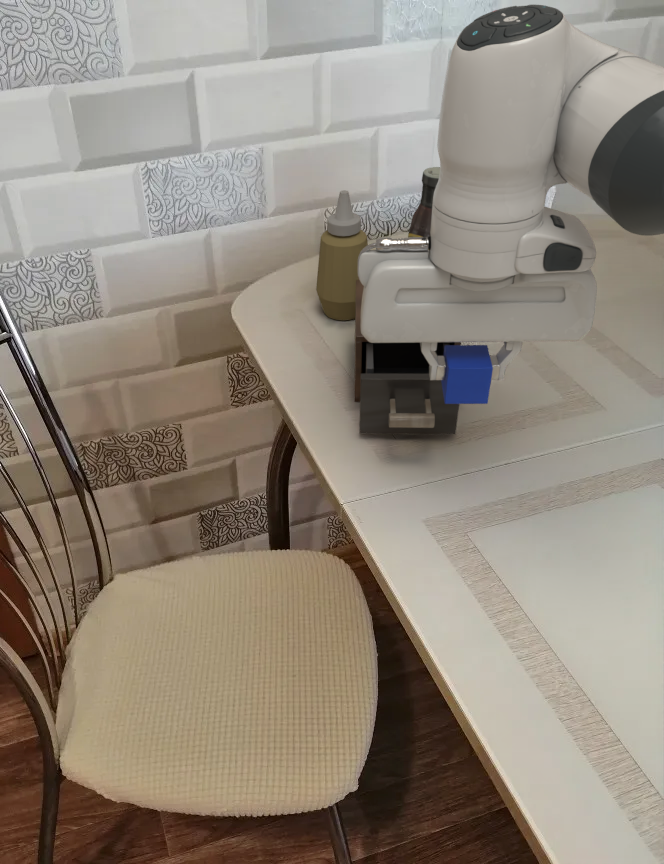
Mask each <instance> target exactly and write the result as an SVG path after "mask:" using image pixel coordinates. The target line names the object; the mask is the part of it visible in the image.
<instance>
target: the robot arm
mask: <svg viewBox="0 0 664 864" xmlns="http://www.w3.org/2000/svg"><path fill="white" fill-rule="evenodd" d="M436 144H437V145H436V146H437V147H436V148H437V153H438V158H439V167H440V176H439V180H438V183H437V185H436V188H435V191H434V195H433V204H432V217H431V230H430V236H429V237H408V236H407V237H404V238H403V237H401V238H393V237H380V238H377V239H376V240H375V242H372V243H368V245H367V246H366V247H365V248H364V249H363V250H362V251H361V252H360V254H359V257H358V279H359V281H360V283H361V284H362V285H363V286H364V289H363V295H362V303H361V321H360V328H361V334H362V335H363V336H364V337H365V338H366V339H367V341H369V342H370V343H417V342H420V345H421V352H422V353H423V355H424V356H425V358H426V360H427V361H428V363H429V376H430V380H445V379H446V370H447V364H446V358H445V356H437V354H436V353H435V351H436V350H437V342H461V343H503V345H502V346H501V348H500V349H499V351H498V352H497V353H496V355H495V354H493V355H490V354H489V355H490V359H491V363H492V367H493V371H492V378H491V381H492V380H493V381H503V380H504V379H505V374H506V367H507V366H508V365H510V363H511V362H512V361H513V360H514V359H515V358H516V357H517V356H518V354H519V353H520V352H521V351H522V346H523V342H524V343H525V342H530V343H531V342H533V343H534V342H579V341H581V340H583V339H584V338H585V337H586V336H587V335H588V334H589V333H590V332H591V330H592V328H593V325H594V319H595V312H596V304H597V293H598V286H597V280H596V277H595V275H594V273H593V271H592V267H594V264H595V261H596V257H597V249H596V245H595V243H594V240H593V237H592V235H591V233H590V231H589V230H588V228H587V227H586V225H585V224H584V223H583V222H582V220H581V219H580V218H579V217H577V216H576V215H574V214H571V213H568V212H564V211H561V210H557V209H554V208H551V207H548V206H546V205H545V204H546V197H547V194H548V192H549V190H550V189H551V188H552V187H554V186H557V185H564V184H569V185H570V186H571V187H573V188H575V189H576V190H577V191H579V192H580V193H582V194H583V195H585V196H586V197H588V198H590V200H592V201H594V202H595V204H596V205H597V206H598V207H599V208H601V210H602V211H603V212H605V213H606V214H607V216H609V217H610V218H611V219H612V220H613V221H614V222H615V223H616V224H617V225H619V226H620V227H621V228H622V229H624V230H625V231H627V232H629V233H631V234H634V235H637V236H638V235H639V236H644V237H645V236H646V237H647V236H648V237H649V236H650V237H651V236H652V237H653V236H658V235H659V236H660V235H664V66H662V65H660V64H657V63H655V62H652V61H651V60H650V59H648V58H646V57H643V56H640V55H638V54H635V53H633V52H631V51H628V50H626V49H623V48H619V47H617V46H614V45H610V44H607V43H605V42H603V41H601V40H598V39H596V38H595V37H593V36H590V35H589V34H586V33H585V32H584V31H582V30H581V29H579V28H578V27H576V26H575V25H574V24H572V23H571V22H570V21H569V20H567V18H566V16H565V15H564V13H563V12H562V11H561V10H560V9H558V8H556V7H552V6H548V5H544V4H527V5H518V6H517V5H513V6H512V5H511V6H507V7H503V8H499V9H495V10H492V11H490V12H488V13H484V14H482V15H481V16H478V17H477V18H475V19H473V21H472V22H470V23H469V24H467V26H465V27H463V29H462V30H461V32H460V33H459V35H458V37H457V38H456V40H455V42H454V44H453V47H452V50H451V52H450V56H449V60H448V63H447V67H446V72H445V77H444V82H443V90H442V95H441V104H440V112H439V120H438V131H437V143H436ZM428 249H429V250H428Z"/></svg>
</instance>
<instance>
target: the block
mask: <svg viewBox="0 0 664 864" xmlns="http://www.w3.org/2000/svg"><path fill="white" fill-rule="evenodd" d="M444 356H445V358H446V364H447V370H446V379H445V380H441V383H442V389H443V395H444V402H445V404H459V405H473V404H474V405H476V404H477V405H482V404H483V405H487V404H488V403H489V397H490V390H491V383H492V380H491V378H492V371H493V367H492V363H491V359H490V350H489V346H488V345H487V344H461V345H445V347H444Z"/></svg>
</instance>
